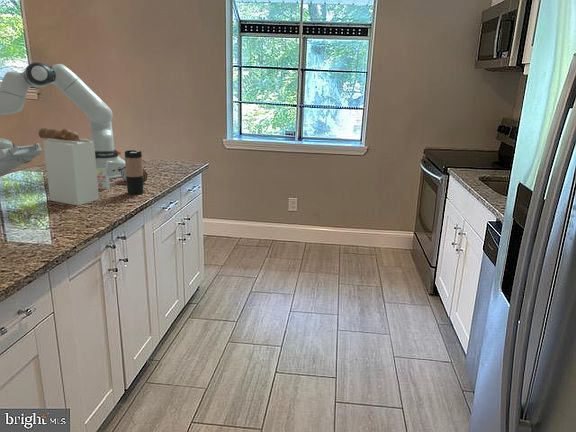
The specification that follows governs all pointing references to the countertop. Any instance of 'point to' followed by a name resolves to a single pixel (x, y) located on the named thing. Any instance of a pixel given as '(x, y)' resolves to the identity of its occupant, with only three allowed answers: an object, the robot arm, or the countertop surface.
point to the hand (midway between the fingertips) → (28, 145)
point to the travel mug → (134, 172)
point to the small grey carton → (103, 178)
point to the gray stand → (71, 171)
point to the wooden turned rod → (58, 134)
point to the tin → (123, 174)
